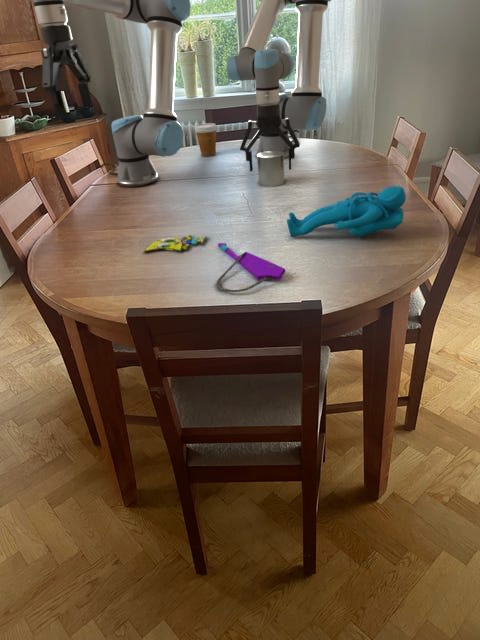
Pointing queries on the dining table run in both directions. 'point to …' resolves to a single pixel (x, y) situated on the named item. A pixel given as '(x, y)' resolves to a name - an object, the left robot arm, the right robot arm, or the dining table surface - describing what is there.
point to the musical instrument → (252, 267)
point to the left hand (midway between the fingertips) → (75, 112)
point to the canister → (271, 168)
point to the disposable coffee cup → (206, 138)
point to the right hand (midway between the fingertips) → (270, 169)
